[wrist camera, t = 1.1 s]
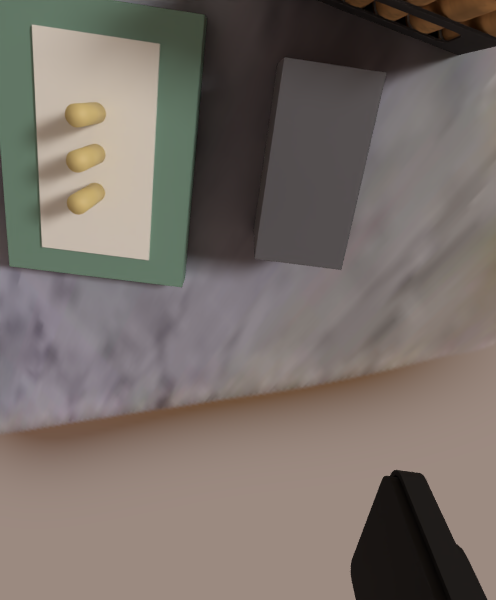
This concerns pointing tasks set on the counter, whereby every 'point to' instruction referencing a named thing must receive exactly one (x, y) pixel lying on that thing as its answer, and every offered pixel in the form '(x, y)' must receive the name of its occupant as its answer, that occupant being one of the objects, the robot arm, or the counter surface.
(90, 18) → the header board
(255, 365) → the counter surface
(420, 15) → the ammunition clip
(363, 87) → the block
